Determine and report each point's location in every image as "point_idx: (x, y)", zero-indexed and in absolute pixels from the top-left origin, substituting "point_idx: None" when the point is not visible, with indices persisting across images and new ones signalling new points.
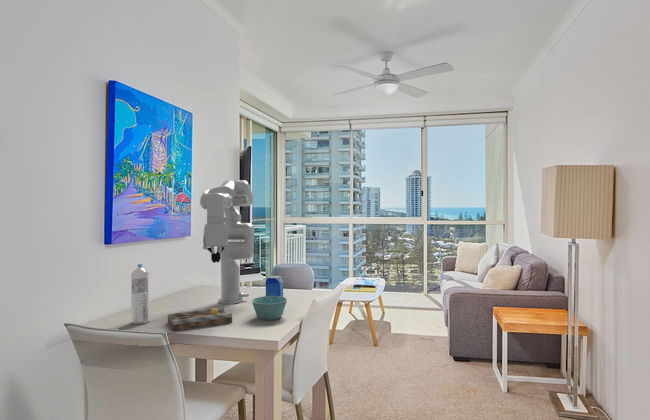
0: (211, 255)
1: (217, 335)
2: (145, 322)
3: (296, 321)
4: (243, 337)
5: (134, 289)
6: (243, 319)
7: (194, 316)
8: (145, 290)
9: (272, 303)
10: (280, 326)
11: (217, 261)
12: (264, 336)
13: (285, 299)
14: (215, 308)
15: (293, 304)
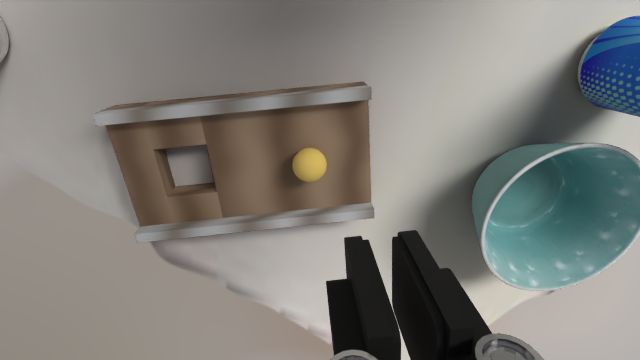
0: (333, 344)
1: (289, 310)
2: (2, 60)
3: None
4: None
5: None
6: (420, 173)
7: (225, 143)
8: None
9: (589, 158)
10: (486, 295)
11: (394, 308)
12: (403, 355)
13: (630, 232)
14: (316, 174)
15: None
